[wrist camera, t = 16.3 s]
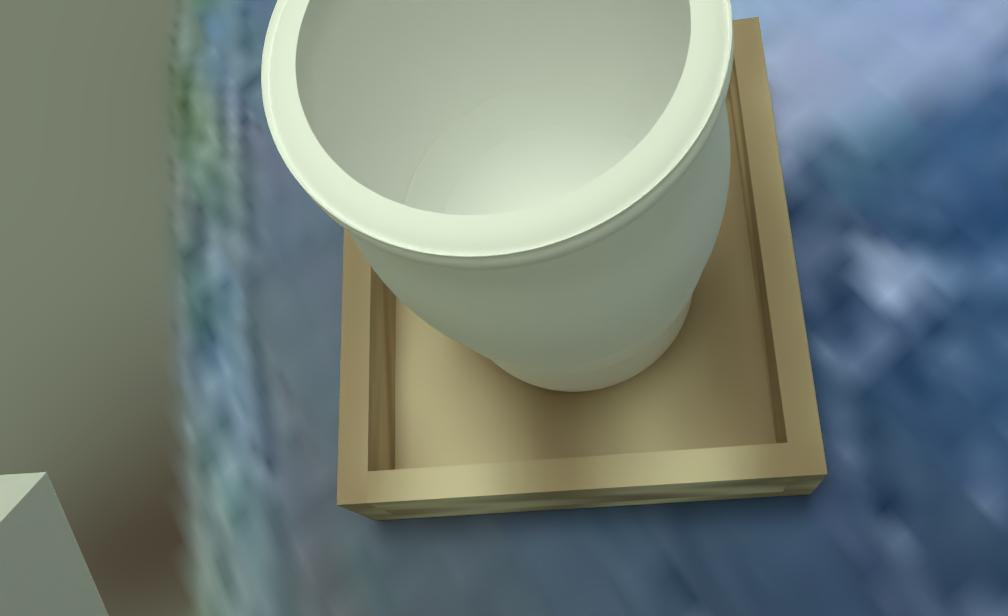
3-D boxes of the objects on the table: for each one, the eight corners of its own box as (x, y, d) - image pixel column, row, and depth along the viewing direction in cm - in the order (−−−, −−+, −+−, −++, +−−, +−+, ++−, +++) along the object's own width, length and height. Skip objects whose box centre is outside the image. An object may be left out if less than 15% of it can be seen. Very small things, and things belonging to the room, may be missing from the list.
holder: (751, 80, 37) (758, 17, 33) (811, 494, 31) (827, 473, 28) (380, 127, 39) (348, 73, 35) (375, 520, 34) (336, 505, 30)
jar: (378, 305, 35) (168, 85, 22) (555, 106, 37) (464, -222, 23) (597, 486, 32) (512, 360, 18) (785, 256, 33) (843, -28, 19)
